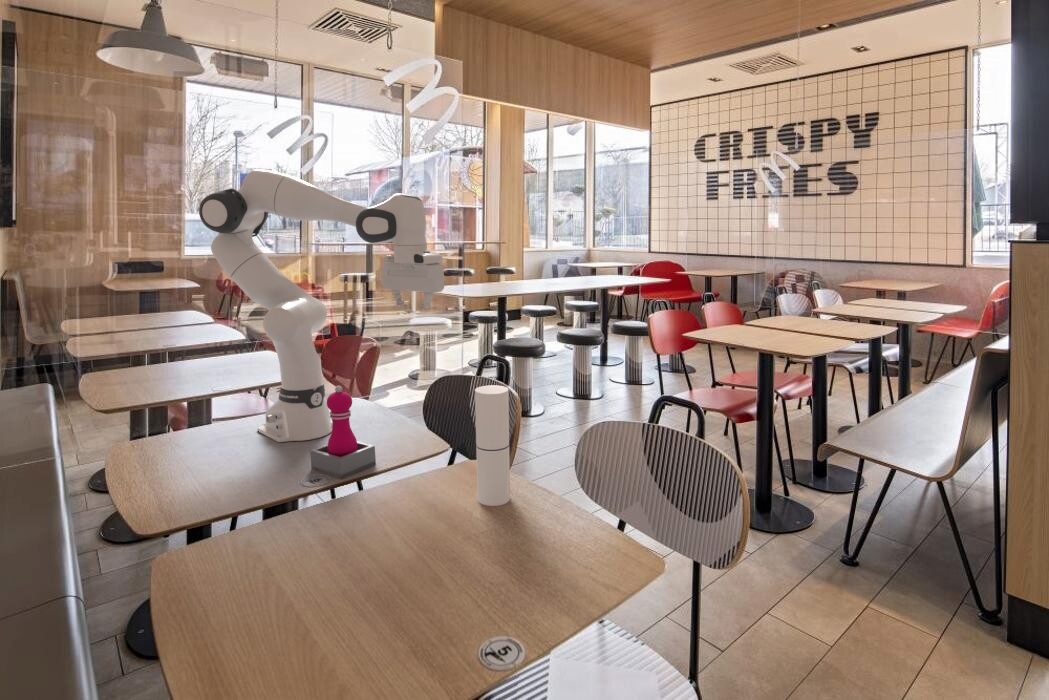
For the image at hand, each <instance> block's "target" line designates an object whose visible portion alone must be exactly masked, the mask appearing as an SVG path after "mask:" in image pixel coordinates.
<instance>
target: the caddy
mask: <svg viewBox="0 0 1049 700" xmlns="http://www.w3.org/2000/svg"><path fill="white" fill-rule="evenodd" d="M357 445H358V448H357V450H356V451H355V452H353V453H350V454H348V455H345V456H343V457H338V456H335V455H331V454H330V453H329V452H328V443H326V444H324V445H322V446H318V447H316V448H312V449H311V450H309V455H310V456H309V457H310V466H311V468H310V469H311V470H312V471H315V472H318V473H321V474H324V475H326V476H331V477H334V478H337V479H339V480H343V479H345V478H347V477H351V476H353V475H354V474H357V473H359V472H361V471H364V470H366V469H369V468H371V467H373V466H375V465H376V464H377V461H376V446H375V445H373V444H370V443H367V442H363V441H359V440H357Z"/></svg>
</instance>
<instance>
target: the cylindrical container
mask: <svg viewBox="0 0 1049 700" xmlns="http://www.w3.org/2000/svg"><path fill="white" fill-rule="evenodd" d="M509 395H510V393H509V388H508V387H506V386H503V385H492V384H489V385H482V386H478V387H476V388H474V404H475V405H474V406H475V409H474V410H475V411H474V412H475V443H476V444H475V447H476V450H475V451H476V453H475V454H476V481H477V482H476V487H477V488H476V489H477V501H478V503H479V504H481V505H483V506H489V507H498V506H503V505H505V504H507V503H508V502H510V500H511V485H510V484H511V482H510V481H511V480H510V476H511V475H510V468H511V467H510V414H509V413H510V407H509V405H510V403H509V401H510V399H509Z"/></svg>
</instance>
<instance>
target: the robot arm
mask: <svg viewBox="0 0 1049 700" xmlns="http://www.w3.org/2000/svg"><path fill="white" fill-rule="evenodd" d="M424 204H425V203H424V202H423V200H422V198H420V197H418V196H416V195H412V194H407V193H401V192H400V193H398V192H397V193H394V194H393V195H392V196H391V197H389V199H387V200H385V201H384V202H381V203H379V204H377V205H373V206H366V205H362V204H360V203H356V202H353V201H350V200H346V199H343V198H340V197H339V196H338V197H337V196H336V195H333V194H331V193H329V192H327V191H325V190H324V189H322V188H319V187H317V186H315V185H313V184H311V183H309V182H307V181H305V180H302V179H301V178H298V177H295V176H292V175H289V174H286V173H281V172H277V171H273V170H267V169H253V170H251V171H249V172H248V173H247V174H246V175H245V176H244V178H243V180H242V185H241V187H240V188H238V189H235V188H232V187H231V188H226V189H224V190H219V191H215V192H213V193H210V194H208V195H207V196H205V197H204V198H203V199H202V200H201V202H200V203H199V208H198V214H199V218H200V220H201V222H202V224H203V225H204V226H205V227H206V228H207V229H210V230H211V231H213V232H215V233H218V234H217V235H216V236H215V237H214V239H213V240H212V242H211V246H210V251H211V253H212V255H213V257H214V258H215V259H216V261H217V263H218V264H219V265H220V267H221V268H222V269H223V271H224V272H225V273H226V274H227V276H228V277H229V278H230V279H231V280H232V281H233V282H234V283H235V284H236V285H237V286H238V288H240V290H241V291H242V292H243V293H244V294H245V295H246V297H248V298H249V299H250V300H251V301H252V302H254V303H256V304H258V305H261V306H262V307H264V308H266V309H267V310H268V311H267V313H265V315H264V318H263V320H262V326H263V330H264V333H265V334H266V336H267V337H268V338H269V339H270V340H271V341H272V344H273V347H274V349H275V352H276V355H277V359H278V363H279V370H280V371H279V373H280V382H281V386H279V387H277V388H276V393H278V392H279V394H278V399H277V401H275V402H274V403H273V404H272V405H271V406H269V408H267V410H266V411H265V423H263V424H261V425H260V426H258V427H257V432H258V431H259V433H261V434H262V435H265V437H268V438H269V439H271V440H273V441H275V442H277V443H284V442H293V441H295V442H298V441H299V442H300V441H301V442H302V441H309V440H315V439H319V438H321V437H325V436H327V435H329V434H331V432H332V420H331V418H330V409H329V408H328V407H327V399H326V398H325V396H326V387H325V384H324V383H323V373H322V360H321V357H320V354H318V353H317V351H316V348H315V345H314V342H313V336H312V335H313V334H314V333H316V332H318V331H319V330H320V329H321V328H322V327H323V325H324V324H325V322H327V318H328V312H327V307H326V306H325V304H324V303H323V302H322V300H320V299H318V298H316V297H314V296H313V295H310V294H309V293H308V292H306V291H305V290H304V289H303V288H301V287H300V286H299V285H298V284H297V283H295V282H293V280H290V279H289V278H288V277H287V275H285V274H284V273H283V272H282V271H281V270H280V269H279V268H278V267H277V266H276V265H275V264H274V262H272V261H271V260H270V259H269V258H268V256H267V255H266V254H265V253H264V252H263V251H262V250H261V249H260V248H259V247H258V246H257V244H256V243H255V242H254V239H253V238H255V237H257V236H258V235H259V233H260V231H261V229H262V227H263V226H264V225H265V223H266V221H267V220H268V216H269V213H270V214H272V215H274V216H275V215H276V216H278V217H282V218H286V219H289V220H296V221H304V222H310V221H311V222H315V221H316V222H317V221H331V222H337V223H342V224H344V225H348V226H350V227H351V226H352V227H355V230H356V232H357V234H358V236H359V237H360V238H361V240H362V241H364V242H366V243H369V244H393V246H392V247H393V255H390V254H388V255H386V256H385V257H384V258H383V260H382V269H381V280H380V281H381V282H380V285H381V286H382V288H383V289H384V290H391V292H392V296H393V298H394V300H395V306H396V307H404V306H405V299H403V298H402V296H401V293H402V291H407V292H409V291H410V292H420V293H421V292H422V293H423V296H424V300H423V301H421V309H423V310H425V309H426V310H429V309H430V308H431V301H432V299H433V297H434V293H435V294H436V293H441V292H443V291H444V289H445V273H444V268H443V265H442V262H443V256H442V255H441V254H440V253H438V252H435V251H433V250H431V249H429V248H428V244H427V243H428V242H427V240H426V239H427V238H426V232H427V221H426V220H427V218H426V217H427V216H426V210H425V206H424Z"/></svg>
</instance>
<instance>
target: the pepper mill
mask: <svg viewBox="0 0 1049 700" xmlns="http://www.w3.org/2000/svg"><path fill="white" fill-rule="evenodd" d="M334 391H335V392H332V393H330V394H329V396H328V397H327V399H326V400H327V407H328V409H329V415H330V420H331V421H332V427H331V428H332V431H331V432H330V436H329V438H328V441H327V444H328V452H329V453H330V454H331V455H335V456H338V457H343V456H345V455H348V454H350V453H353V452H355V451H356V450H357V448H358V445H357V441H358V440H357V438H356V436H355V434H354V431H352V427H351V423H350V417H352V414H351V412H352V411H351V407H352V405H353V399H352V396H351V394H349V393H348V392H347V391H343V387H342V386H341V385H336V386H335V387H334Z"/></svg>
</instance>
